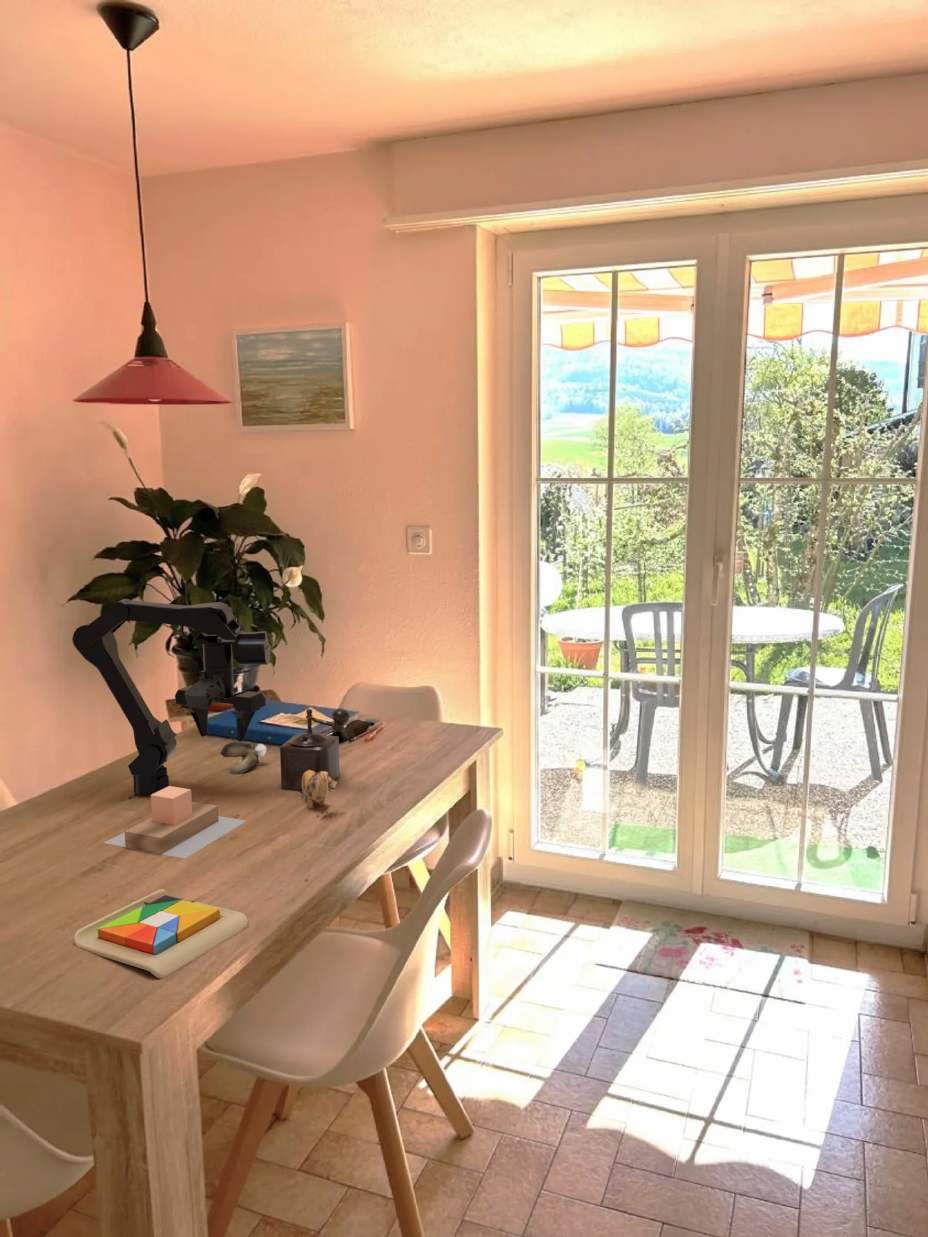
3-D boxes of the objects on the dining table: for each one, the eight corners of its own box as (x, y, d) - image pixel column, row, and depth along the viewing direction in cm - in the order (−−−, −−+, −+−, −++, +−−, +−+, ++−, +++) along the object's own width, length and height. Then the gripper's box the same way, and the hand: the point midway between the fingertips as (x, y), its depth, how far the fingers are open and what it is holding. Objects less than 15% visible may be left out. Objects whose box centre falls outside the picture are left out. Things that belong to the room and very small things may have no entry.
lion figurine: (340, 816, 176) (339, 772, 175) (315, 821, 174) (313, 777, 172) (312, 793, 189) (310, 752, 187) (288, 798, 186) (286, 756, 184)
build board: (104, 849, 161) (103, 842, 161) (170, 813, 177) (170, 807, 177) (185, 865, 154) (185, 858, 154) (247, 826, 171) (246, 820, 171)
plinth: (125, 847, 159) (124, 831, 158) (184, 815, 174) (183, 800, 173) (161, 854, 156) (160, 838, 156) (218, 820, 171) (217, 806, 170)
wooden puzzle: (166, 897, 144) (165, 877, 143) (252, 928, 134) (251, 906, 134) (70, 946, 129) (68, 924, 129) (158, 985, 120) (157, 961, 119)
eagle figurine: (239, 754, 211) (213, 758, 202) (254, 731, 209) (229, 734, 201) (260, 776, 208) (234, 781, 200) (275, 753, 206) (250, 757, 198)
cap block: (152, 821, 163) (150, 795, 162) (170, 811, 168) (169, 786, 167) (174, 825, 161) (172, 798, 160) (192, 815, 166) (191, 789, 165)
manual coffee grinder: (278, 790, 190) (275, 708, 187) (296, 773, 201) (293, 695, 198) (348, 794, 188) (346, 711, 185) (363, 777, 198) (361, 698, 195)
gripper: (154, 669, 178) (159, 744, 181) (232, 677, 171) (235, 755, 174) (190, 658, 189) (194, 729, 191) (265, 665, 182) (268, 739, 184)
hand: (221, 738), depth 185 cm, fingers open, 9 cm apart
